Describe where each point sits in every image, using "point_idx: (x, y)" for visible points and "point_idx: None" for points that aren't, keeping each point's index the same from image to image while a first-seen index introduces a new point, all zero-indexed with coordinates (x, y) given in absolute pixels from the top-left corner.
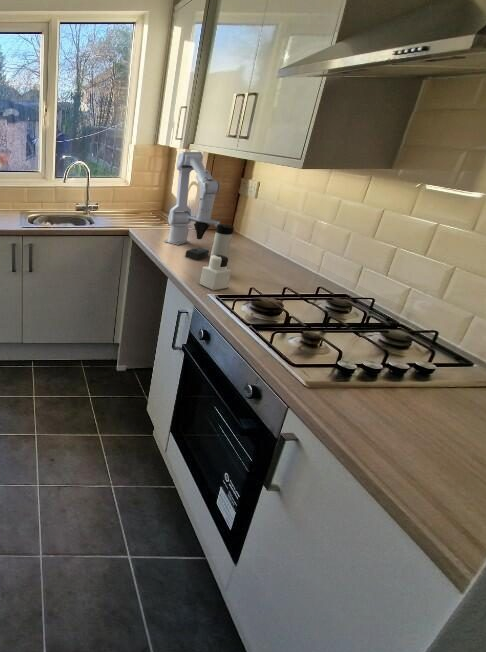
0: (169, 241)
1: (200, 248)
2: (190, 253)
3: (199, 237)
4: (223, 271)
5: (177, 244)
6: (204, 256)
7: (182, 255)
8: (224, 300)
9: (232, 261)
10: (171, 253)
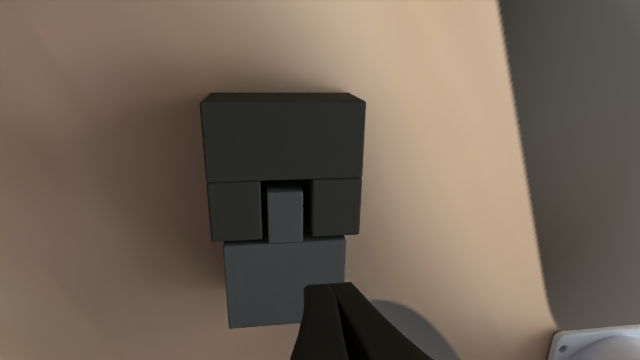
0: (637, 338)
1: None
2: (306, 99)
3: (309, 299)
4: None
5: (560, 333)
6: None
7: (393, 114)
8: None
9: (7, 335)
10: (496, 81)
